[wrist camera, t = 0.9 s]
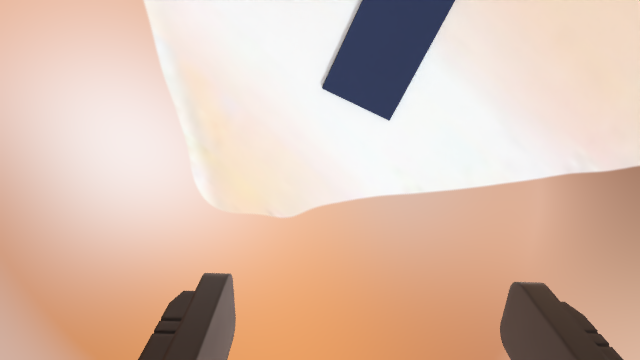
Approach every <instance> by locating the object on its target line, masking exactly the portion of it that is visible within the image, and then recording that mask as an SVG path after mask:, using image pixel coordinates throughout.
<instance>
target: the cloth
mask: <svg viewBox="0 0 640 360" xmlns="http://www.w3.org/2000/svg"><path fill="white" fill-rule="evenodd" d="M454 1H455V0H363V1H362V3H361V5H360V7H359V9H358V11H357V13H356V16H355V18H354V20H353V22H352V24H351V26H350V29H349V31H348V33H347V35H346V37H345V39H344V42H343V44H342V46H341V48H340V50H339V52H338V55H337V57H336V59H335V61H334V63H333V65H332V67H331V70H330V72H329V74H328V76H327V78H326V80H325V83H324V85H323V87H322V88H323V89H325V90H327V91H329V92H331V93H333V94H335V95H337V96H339V97H341V98H343V99H345V100H348V101H350V102H352V103H354V104H356V105H358V106H360V107H362V108H364V109H366V110H368V111H371V112H373V113H375V114H377V115H379V116H381V117H383V118H385V119H387V120H390V118H391V117H392V115H393V113H394V111H395V109H396V107H397V106H398V104H399V102H400V100H401V98H402V96H403V95H404V93H405V91H406V89H407V87H408V85H409V84H410V82H411V80H412V78H413V76H414V75H415V73H416V71H417V69H418V67H419V65H420V64H421V62H422V60H423V58H424V56H425V54H426V53H427V51H428V49H429V47H430V45H431V43H432V42H433V40H434V38H435V36H436V34H437V32H438V31H439V29H440V27H441V25H442V23H443V21H444V20H445V18H446V16H447V14H448V12H449V10H450V9H451V7H452V5H453V3H454Z"/></svg>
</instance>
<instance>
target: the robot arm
mask: <svg viewBox="0 0 640 360" xmlns="http://www.w3.org/2000/svg"><path fill="white" fill-rule="evenodd" d="M234 331H235V304H234V291H233V279H232V275H231V274H220V273H216V274H215V273H204V275H203V276H202V278H201V280H200V282H199V284H198V286H197V288H196V290H195V291H183V292H182V293H181V294H180V295H178V296H177V297H176V298H175V299H174V300H173V301H171V302H170V303H169V305H168V307H167V308H166V310H165V312H164V314H163V316H162V317H161V321H159V323H158V325H157V326H156V328H155V330H154V334H152V335H151V337H150V339H149V341H148V343H147V345H146V346H145V348H144V350H143V352H142V353H141V356H140V357H139V359H138V360H227V358H228V355H229V351H230V348H231V344H232V341H233V337H234ZM500 333H501V340H502V343H503V346H504V348H505V350H506V352H507V353H508V355H509V357H510V359H511V360H623V359H622V358H621V357H620V356H619V354H618V353H617V352H616V351H615V350H614V349H613V348H612V347H609V343H608V342H607V341H606V340H605V339H604V338H603V336H602V335H601V334H598V333H597V330H596V329H595V327H594V326H593V325H592V324H591V323H590V322H589V321H588V320H587V318H586V317H585V316H584V315H583V314H581V313H580V312H578V311H577V310H575V309H574V308H573V307H571V306H570V305H568V304H567V303H565V302H560V301H559V300H558V299H557V298H556V296H555V295H554V294H553V293H552V291H551V290H550V289H549V288H548V287H547V286H546V285H545V284H544V283H530V282H514V283H513V284H512V285H511V287H510V290H509V293H508V298H507V301H506V305H505V309H504V313H503V317H502V320H501V326H500Z"/></svg>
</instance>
